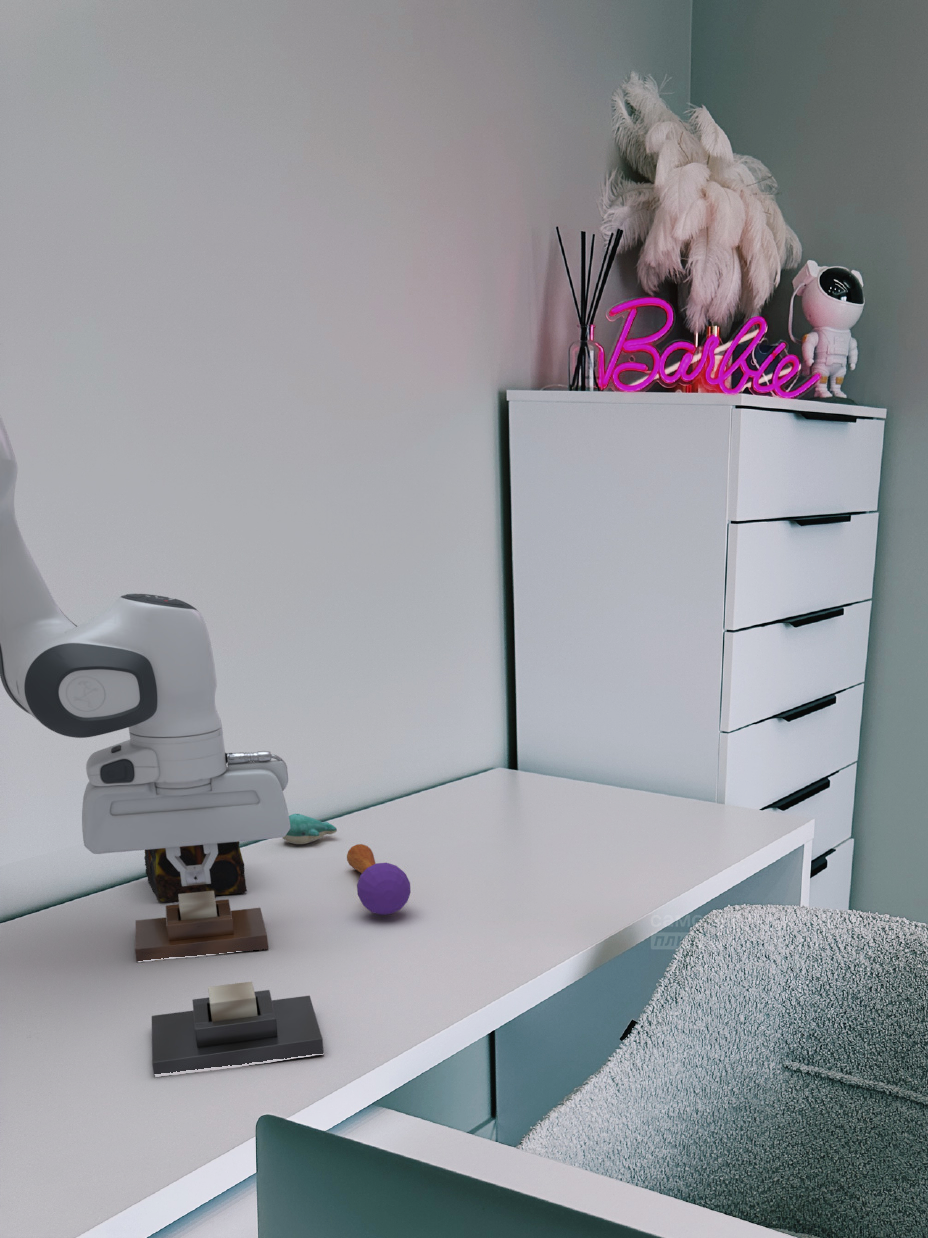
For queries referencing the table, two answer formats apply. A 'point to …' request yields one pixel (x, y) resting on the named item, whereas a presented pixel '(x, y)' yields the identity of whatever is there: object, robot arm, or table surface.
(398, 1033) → the table surface
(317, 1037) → the dark grey socket base
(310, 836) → the whale figurine
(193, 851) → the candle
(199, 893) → the back key
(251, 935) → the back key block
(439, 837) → the table surface
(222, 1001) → the front key
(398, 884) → the purple maraca
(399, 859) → the table surface
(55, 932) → the table surface
